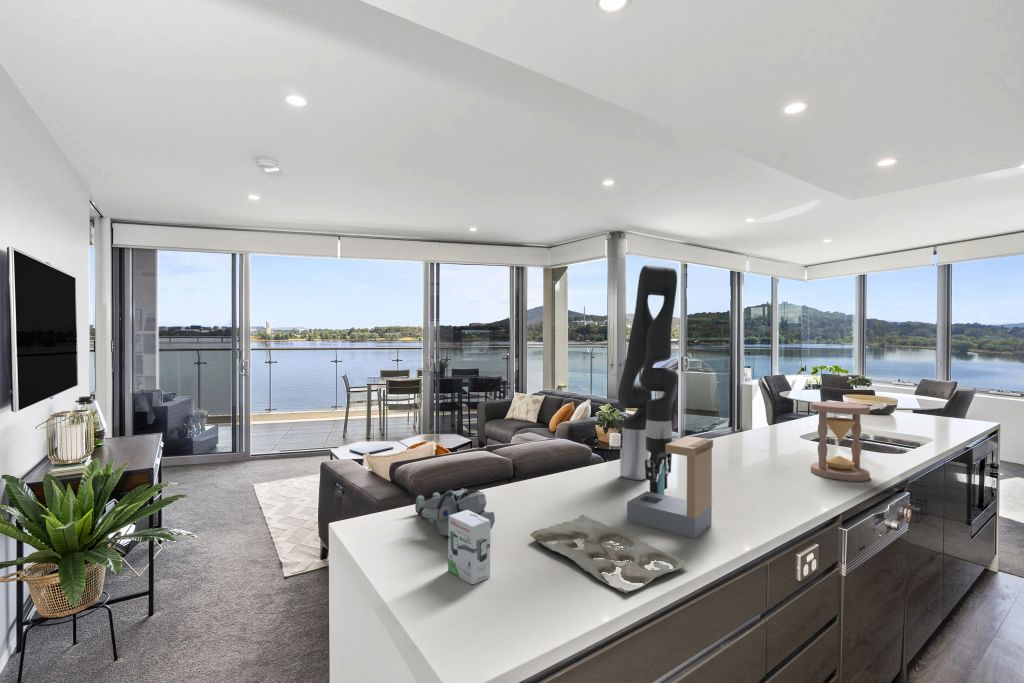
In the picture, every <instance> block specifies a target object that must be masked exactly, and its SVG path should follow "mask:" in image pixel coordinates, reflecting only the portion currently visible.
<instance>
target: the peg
mask: <svg viewBox="0 0 1024 683" xmlns="http://www.w3.org/2000/svg"><path fill="white" fill-rule="evenodd" d="M656 471H657V470H656ZM655 476H656V474H655ZM658 494H662V495H665V489H664V465H663V466H662V470H661V474H660V475H659V477H658Z"/></svg>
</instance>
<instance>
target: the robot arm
mask: <svg viewBox="0 0 1024 683" xmlns="http://www.w3.org/2000/svg"><path fill="white" fill-rule="evenodd" d="M677 287H678V274H677V270H676V269H675V268H674V267H673V266H665V265H650V264H648V265H647V264H646V265H644V266H642V267H641V270H640V273H639V276H638V283H637V291H636V301H635V307H634V308H635V309H634V315H633V320H632V325H631V329H630V334H629V338H628V345H627V351H626V358H625V364H624V368H623V371H622V375H621V378H620V382H619V386H618V389H617V390H618V391H617V402H618V405H619V406H620V407H621V408H622V409H637V410H636V411H635V412H634V413H633V414H631V415H629V416H627V417H625V418H623V419H622V448H620V450H619V452H620V453H619V454H620V455H619V459H620V460H619V461H620V462H619V467H620V468H619V470H620V472H619V476H620V477H624V478H625V479H629V480H636V481H645V480H646V481H649V492H653V493H657V494H658V477H659V475H660V474H661V470H662V466H663V465H664V490H667V489H668V477H669V475H670V473H672V458H673V457H672V456H673V455H672V454H671V453H666V444H668V443H671V442H673V424H672V404H673V397H674V394H675V392H676V391H675V390H676V388H677V384H678V381H679V379H678V378H679V377H678V374H677V371H676V370H675V369H673V368H671V367H654V365H656V364H657V363H661V362H666V361H668V360H670V358H671V357H672V327H673V317H674V310H675V304H676V303H675V302H676V297H677V289H678V288H677ZM649 296H661V297H663V303H662V305H661V308H660V309H659V312H658V314H657V315H656V317H655V318H654V317H653V315H652V313H651V310H650V307H649ZM640 372H641V374H640V379H639V381H636V379H637V376H639V373H640ZM652 392H664V394H663V395H662V396H661V397H659V398H652V397H653V393H652ZM656 470H657V471H656ZM655 474H656V476H655ZM644 479H645V480H644Z"/></svg>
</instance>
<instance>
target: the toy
mask: <svg viewBox="0 0 1024 683" xmlns="http://www.w3.org/2000/svg"><path fill="white" fill-rule="evenodd" d="M414 502H415V506H414V507H415V512H416V513H417V515H418V516H421V517H423V518H426V519H430V520H434V521H435V522H436V528H437V529H438V531H439V532H440V534H441V535H442V536H448V534H449V515H452V514H455V513H459V512H462V511H465V510H469V511H472V512H474V513H476V514H478V515H480V516H482V517H484V518H487V519H489V521H490V530H492V529H493V527H494V523H495V522H496V520H495V512H494V511H485V508H486V507H487V503H488V502H487V499H486V494H485V493H484V492H483V491H480V490H476V489H471V488H470V489H467V488H463V487H461V488H460V490H452V489H450V490H448V491H446V492H444V493H443V494H440V493H439V492H438V491H436V492H435V491H434V492H432V494H431V498H429V499H426V500H425V497H424V496H423V495H422V494H419V495H417V496H416V497H415V501H414Z"/></svg>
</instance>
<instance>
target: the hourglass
mask: <svg viewBox="0 0 1024 683" xmlns="http://www.w3.org/2000/svg"><path fill="white" fill-rule="evenodd" d="M810 409H811V410H812V411H815V412H818V424H817V434H818V436H819V437H818V438H819V441H818V444H817V454H818V462H814V463H812V464H810V472H811V473H812V474H815V475H817V476H820V477H823V478H826V479H831V480H836V479H837V480H838V481H844V480H846V482H866V481H868V480H870V478H871V474H870V471H869V470H868V469H866V468H864V467H861V453H862V446H861V442H860V437H861V433H862V424H861V415H868V414H870V413H871V408H870V406H869V405H866V404H862V403H852V402H843V401H842V402H841V401H814V402H811V404H810ZM827 414H837V415H839V414H840V415H852V418H849V417H848V418H845V417H838V416H837V417H836V416H835V417H834V416H832V417H830V416H828V417H827ZM828 427H829V429H830V430H831V431H832V433H833V434H834V435H835V436H836V442H843V438H844V437H845V436H846V435H847V434H848V432H849V431H851V434H852V437H853V439H852V443H851V445H850V446H851V447H850V451H851V460H850V459H848V458H845V457H843V456H841V455H837V456H833V457H830V458H829V457H828V458H827V455H828V446H827V442H826V438H827V435H828Z"/></svg>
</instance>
